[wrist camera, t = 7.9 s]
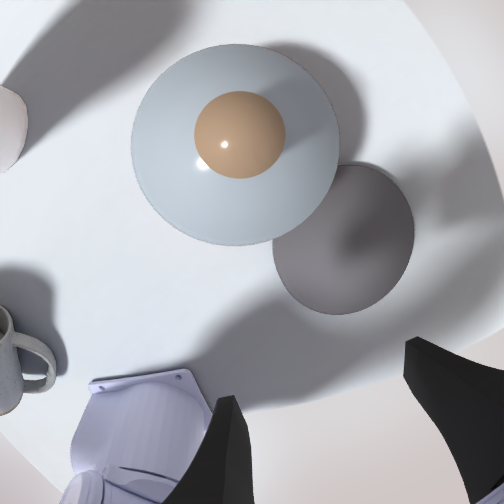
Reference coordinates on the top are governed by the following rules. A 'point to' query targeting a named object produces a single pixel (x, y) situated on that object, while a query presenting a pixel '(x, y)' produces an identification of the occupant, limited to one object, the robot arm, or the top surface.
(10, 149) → the foam cup
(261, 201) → the lid
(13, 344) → the ceramic mug
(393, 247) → the mat
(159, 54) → the top surface
